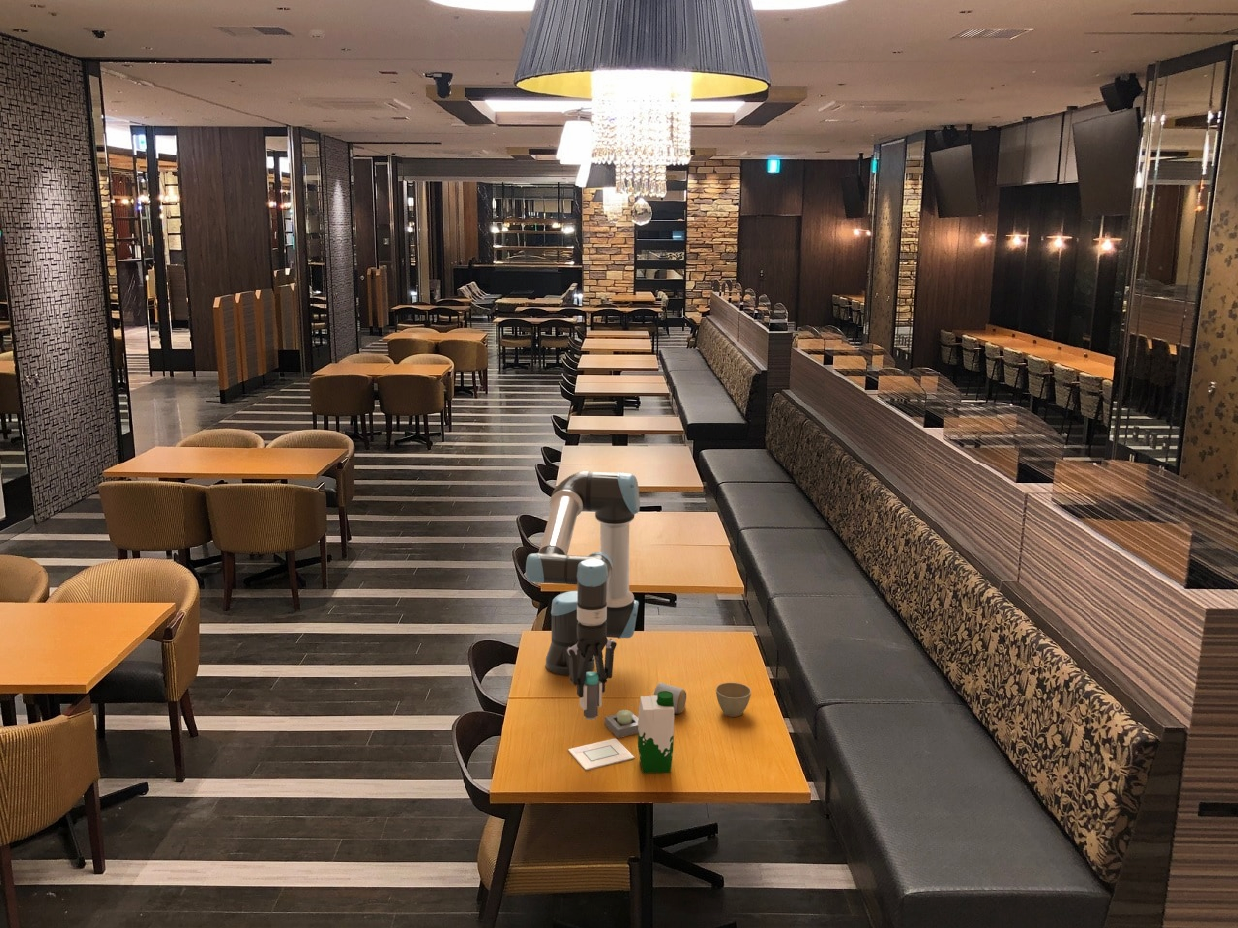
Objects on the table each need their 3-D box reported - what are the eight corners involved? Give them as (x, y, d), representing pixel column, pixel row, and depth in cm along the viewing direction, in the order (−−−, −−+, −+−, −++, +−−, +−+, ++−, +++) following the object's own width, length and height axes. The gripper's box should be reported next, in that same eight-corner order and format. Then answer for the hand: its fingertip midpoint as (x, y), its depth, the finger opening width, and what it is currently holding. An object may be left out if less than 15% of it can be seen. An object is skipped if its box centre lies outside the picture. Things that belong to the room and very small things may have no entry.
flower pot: (754, 709, 300) (755, 686, 298) (743, 724, 291) (744, 700, 289) (721, 701, 304) (722, 679, 302) (709, 716, 295) (710, 693, 293)
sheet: (568, 750, 275) (568, 748, 275) (615, 739, 282) (615, 737, 281) (585, 770, 266) (585, 768, 266) (634, 758, 272) (634, 756, 272)
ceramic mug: (679, 718, 293) (680, 693, 292) (651, 713, 296) (652, 688, 294) (690, 703, 303) (691, 678, 301) (663, 698, 306) (664, 673, 304)
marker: (587, 721, 267) (587, 678, 264) (581, 715, 270) (581, 672, 267) (600, 719, 269) (600, 676, 266) (594, 712, 272) (594, 670, 269)
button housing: (604, 724, 289) (605, 716, 289) (630, 718, 293) (630, 711, 292) (617, 737, 282) (618, 729, 282) (644, 731, 286) (644, 723, 285)
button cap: (614, 721, 288) (614, 711, 287) (627, 718, 290) (627, 708, 289) (621, 727, 285) (621, 717, 284) (634, 724, 286) (634, 714, 286)
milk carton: (674, 774, 265) (677, 702, 260) (639, 775, 264) (640, 703, 259) (670, 756, 273) (672, 686, 268) (635, 757, 272) (637, 687, 268)
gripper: (567, 631, 256) (567, 718, 262) (627, 620, 264) (626, 705, 269) (555, 620, 263) (555, 705, 268) (614, 610, 270) (613, 693, 276)
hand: (590, 705), depth 269 cm, fingers closed on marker, 3 cm apart
